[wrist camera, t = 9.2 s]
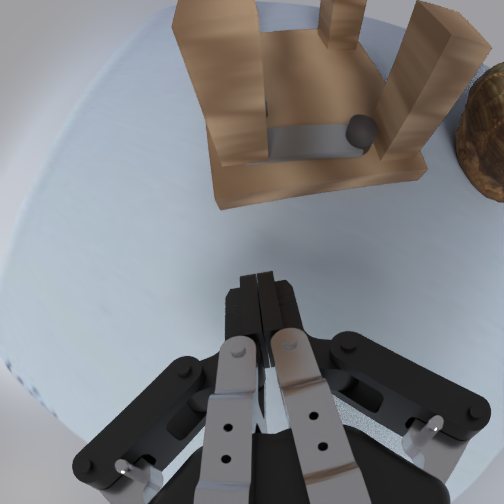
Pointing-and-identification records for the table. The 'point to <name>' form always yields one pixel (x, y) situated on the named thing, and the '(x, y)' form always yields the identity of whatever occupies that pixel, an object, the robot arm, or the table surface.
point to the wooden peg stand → (354, 100)
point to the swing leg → (250, 90)
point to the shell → (484, 134)
